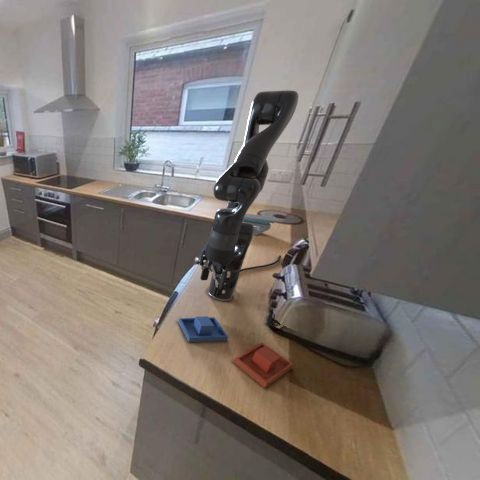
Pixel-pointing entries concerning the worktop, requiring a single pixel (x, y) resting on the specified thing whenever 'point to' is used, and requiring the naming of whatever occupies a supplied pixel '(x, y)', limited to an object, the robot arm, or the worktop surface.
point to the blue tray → (192, 335)
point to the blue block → (203, 326)
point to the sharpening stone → (259, 222)
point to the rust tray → (256, 372)
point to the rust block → (265, 359)
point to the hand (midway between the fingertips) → (209, 287)
